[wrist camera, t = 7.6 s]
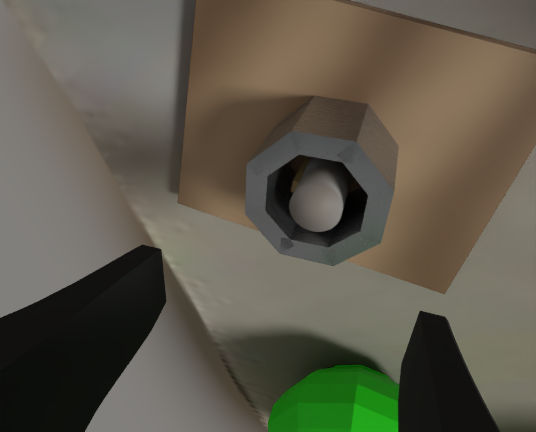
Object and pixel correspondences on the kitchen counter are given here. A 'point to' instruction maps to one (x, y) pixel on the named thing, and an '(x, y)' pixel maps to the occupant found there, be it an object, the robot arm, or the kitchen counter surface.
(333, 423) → the plastic bottle
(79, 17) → the kitchen counter surface
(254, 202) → the hub
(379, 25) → the thin wooden board
